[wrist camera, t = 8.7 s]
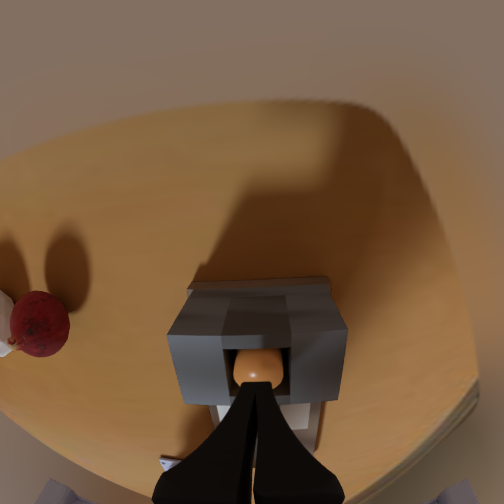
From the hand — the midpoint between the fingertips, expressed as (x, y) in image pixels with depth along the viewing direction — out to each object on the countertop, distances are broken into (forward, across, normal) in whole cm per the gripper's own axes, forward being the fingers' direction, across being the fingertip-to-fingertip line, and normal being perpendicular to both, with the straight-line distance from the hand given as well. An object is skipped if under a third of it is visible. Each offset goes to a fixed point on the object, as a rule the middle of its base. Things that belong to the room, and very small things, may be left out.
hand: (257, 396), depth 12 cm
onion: (+10, +19, 0) cm, 21 cm away
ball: (+10, +29, +1) cm, 31 cm away
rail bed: (+9, 0, +9) cm, 13 cm away
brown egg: (+5, 0, 0) cm, 5 cm away
